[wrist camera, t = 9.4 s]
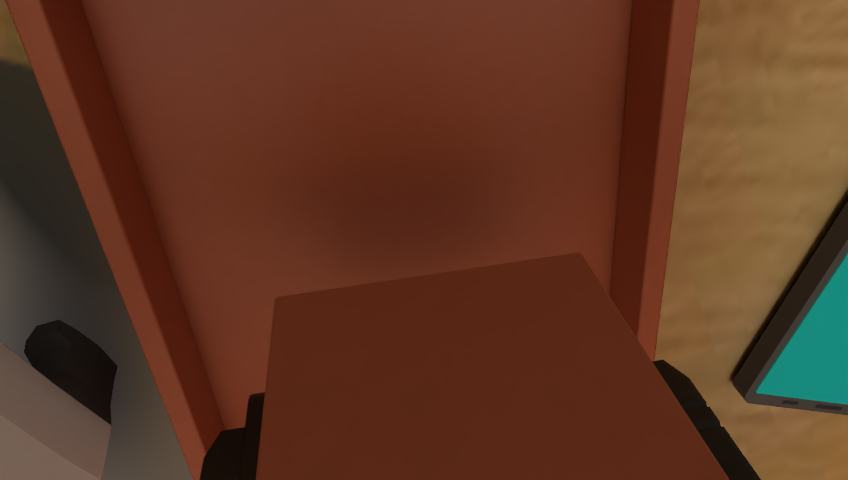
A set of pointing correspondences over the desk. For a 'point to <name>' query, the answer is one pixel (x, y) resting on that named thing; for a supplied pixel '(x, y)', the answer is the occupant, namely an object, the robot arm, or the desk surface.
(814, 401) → the smartphone
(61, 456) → the giant panda
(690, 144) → the desk surface
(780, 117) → the desk surface
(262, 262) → the terracotta tray
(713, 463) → the terracotta block
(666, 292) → the desk surface
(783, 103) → the desk surface
